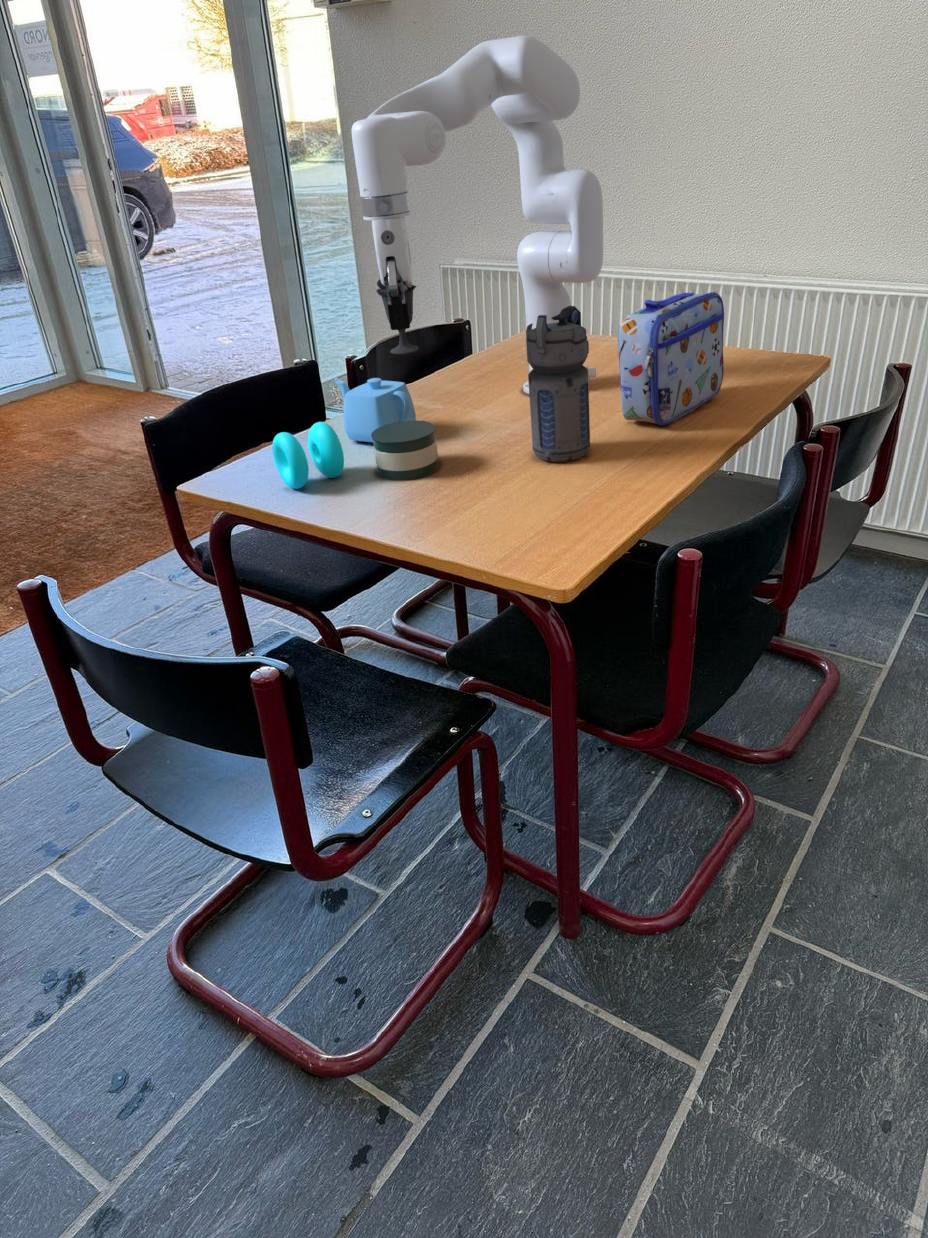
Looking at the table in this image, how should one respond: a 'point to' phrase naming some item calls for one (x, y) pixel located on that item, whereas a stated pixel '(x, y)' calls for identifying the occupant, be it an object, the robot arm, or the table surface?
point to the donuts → (321, 449)
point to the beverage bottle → (559, 387)
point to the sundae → (408, 291)
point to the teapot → (374, 407)
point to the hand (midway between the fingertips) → (401, 323)
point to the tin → (405, 449)
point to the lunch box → (671, 357)
